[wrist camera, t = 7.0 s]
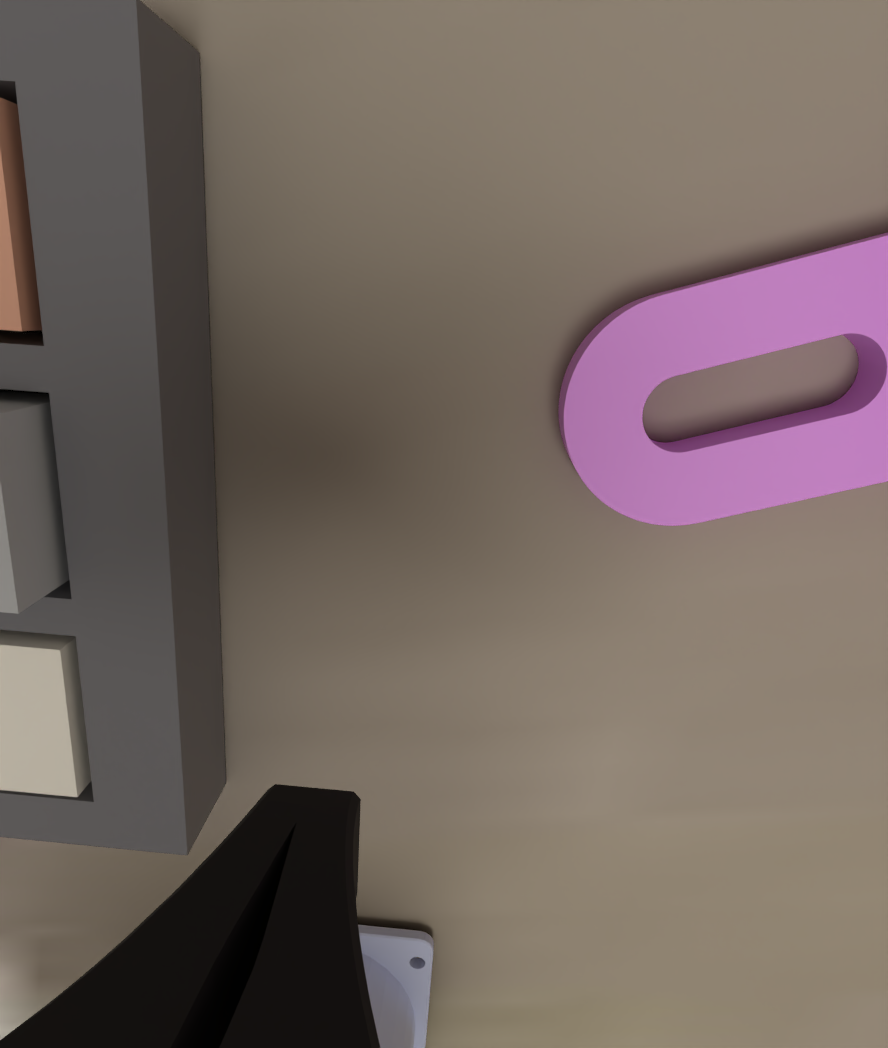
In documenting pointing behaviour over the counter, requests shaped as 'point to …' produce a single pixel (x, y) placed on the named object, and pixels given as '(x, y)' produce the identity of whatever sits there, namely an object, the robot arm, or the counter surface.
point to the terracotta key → (15, 231)
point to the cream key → (41, 715)
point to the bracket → (721, 337)
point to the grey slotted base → (122, 411)
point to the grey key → (29, 503)
